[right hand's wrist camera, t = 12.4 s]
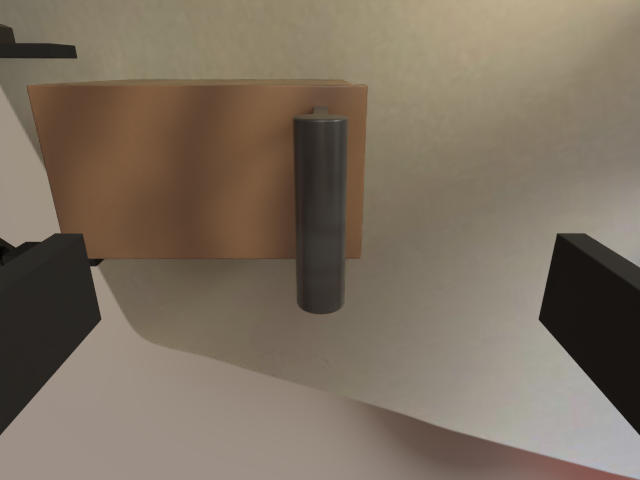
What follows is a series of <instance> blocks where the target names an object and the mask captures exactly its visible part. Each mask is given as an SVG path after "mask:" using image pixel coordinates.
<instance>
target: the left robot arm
mask: <svg viewBox="0 0 640 480" xmlns="http://www.w3.org/2000/svg"><path fill="white" fill-rule="evenodd" d="M0 58H77V54H76V49H75V46H72V45H61V44H51V43H15V39H14V35H13V30H12V28H10V27H8V26H5V25H3V24H0ZM39 243H41V242H25V243H23V244H21V245H20V246H18V247H16V248H15V247H14V246H12V245H11V244H9V243H7V242H6V241H4V240H3V239H1V238H0V267H2V266H4V265H5V264H7V263H8V262H10V261H12V260H13V259H15V258H16V257H18V256H20V255H21V254H23V253H25V252H26V251H28V250H29V249H31V248H33V247H34V246H36V245H37V244H39ZM88 260H89V264H90V266H97V265H98V264H100V263H101V262H102V261H103V260H104V259H88Z"/></svg>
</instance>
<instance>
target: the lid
mask: <svg viewBox="0 0 640 480" xmlns="http://www.w3.org/2000/svg"><path fill="white" fill-rule="evenodd" d="M27 90H28V95H29V99H30V103H31V107H32V111H33V116H34V120H35V124H36V128H37V133H38V137H39V141H40V145H41V150H42V154H43V158H44V162H45V167H46V171H47V175H48V179H49V184H50V188H51V192H52V196H53V201H54V205H55V209H56V213H57V218H58V222H59V226H60V230H61V233H83V237H84V241H85V246H86V250H87V255H88V259H296V277H297V304H298V306H299V307H300V308H301V309H302V310H304V311H306V312H309V313H313V314H328V313H332V312H335V311H337V310H339V309H340V308H341V307H342V306H343V304H344V292H345V259H360V258H361V245H362V218H363V192H364V166H365V140H366V113H367V86H366V85H28V86H27Z"/></svg>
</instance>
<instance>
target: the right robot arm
mask: <svg viewBox="0 0 640 480" xmlns="http://www.w3.org/2000/svg"><path fill="white" fill-rule="evenodd" d="M100 320H101V315H100V311H99V306H98V301H97V297H96V292H95V288H94V283H93V278H92V274H91V269H90V264H89V260H88V255H87V250H86V246H85V241H84V237H83V233H59V234H58V233H57V234H54V235H52V236H50V237H49V238H47V239H45V240H44V241H42V242H41V243H39V244H37V245H36V246H34V247H33V248H31V249H29V250H28V251H26V252H25V253H23V254H21V255H20V256H18V257H16V258H15V259H13V260H12V261H10V262H8V263H7V264H5V265H4V266H2V267H0V435H1V434H2V433H3V431H4V430H5V429H6V428H7V427H8V426H9V425H10V423H11V422H12V421H13V420H14V419H15V418H16V417H17V415H18V414H19V413H20V412H21V411H22V410H23V409H24V407H25V406H26V405H27V404H28V403H29V402H30V401H31V399H32V398H33V397H34V396H35V395H36V394H37V393H38V391H39V390H40V389H41V388H42V387H43V386H44V385H45V383H46V382H47V381H48V380H49V379H50V378H51V377H52V375H53V374H54V373H55V372H56V371H57V370H58V368H59V367H60V366H61V365H62V364H63V363H64V362H65V360H66V359H67V358H68V357H69V356H70V355H71V354H72V352H73V351H74V350H75V349H76V348H77V347H78V346H79V344H80V343H81V342H82V341H83V340H84V339H85V338H86V336H87V335H88V334H89V333H90V332H91V331H92V330H93V328H94V327H95V326H96V325H97V324H98V323H99V322H100ZM539 320H540V322H541V323H542V324H543V325H544V326H545V327H546V328H547V330H548V331H549V332H550V333H551V334H552V335H553V336H554V338H555V339H556V340H557V341H558V342H559V343H560V344H561V346H562V347H563V348H564V349H565V350H566V351H567V352H568V354H569V355H570V356H571V357H572V358H573V359H574V360H575V362H576V363H577V364H578V365H579V366H580V367H581V368H582V370H583V371H584V372H585V373H586V374H587V375H588V377H589V378H590V379H591V380H592V381H593V382H594V383H595V385H596V386H597V387H598V388H599V389H600V390H601V391H602V393H603V394H604V395H605V396H606V397H607V398H608V399H609V401H610V402H611V403H612V404H613V405H614V406H615V407H616V409H617V410H618V411H619V412H620V413H621V414H622V415H623V417H624V418H625V419H626V420H627V421H628V422H629V423H630V425H631V426H632V427H633V428H634V429H635V430H636V431H637V433H638V434H639V435H640V267H638V266H636V265H635V264H633V263H632V262H630V261H628V260H627V259H625V258H624V257H622V256H620V255H619V254H617V253H615V252H614V251H612V250H611V249H609V248H607V247H606V246H604V245H603V244H601V243H599V242H598V241H596V240H595V239H593V238H591V237H590V236H588V235H586V234H585V233H557V237H556V241H555V246H554V250H553V255H552V260H551V264H550V269H549V274H548V278H547V283H546V288H545V292H544V297H543V301H542V306H541V311H540V315H539Z"/></svg>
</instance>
